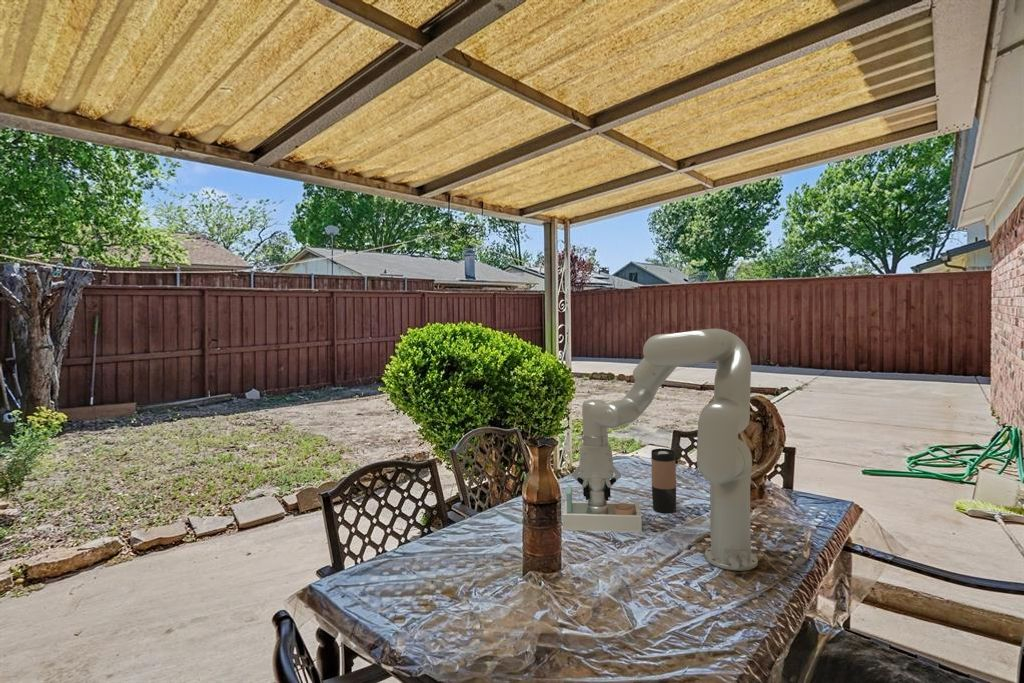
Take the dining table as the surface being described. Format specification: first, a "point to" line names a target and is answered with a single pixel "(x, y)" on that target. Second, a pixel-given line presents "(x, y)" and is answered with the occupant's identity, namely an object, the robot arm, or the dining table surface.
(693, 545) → the dining table surface
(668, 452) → the travel mug
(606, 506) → the plastic bottle
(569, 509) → the pusher
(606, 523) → the white open tray
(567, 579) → the dining table surface
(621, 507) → the terracotta jar
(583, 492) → the robot arm
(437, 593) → the dining table surface
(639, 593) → the dining table surface
